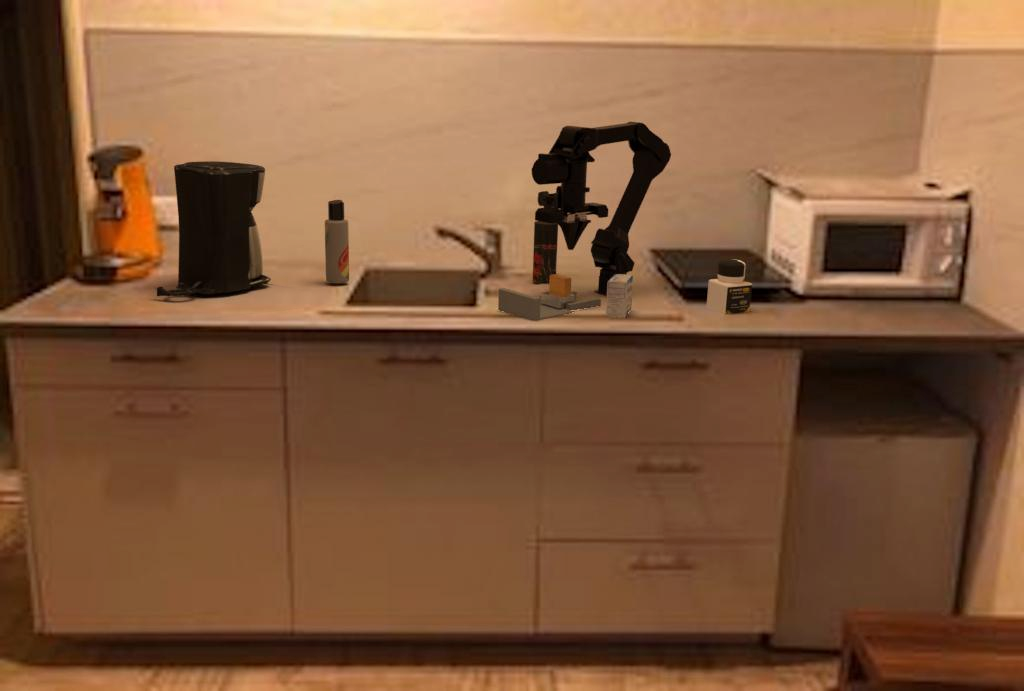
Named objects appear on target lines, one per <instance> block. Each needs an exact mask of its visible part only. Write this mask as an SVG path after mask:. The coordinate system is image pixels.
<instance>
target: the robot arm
mask: <svg viewBox="0 0 1024 691" xmlns="http://www.w3.org/2000/svg"><path fill="white" fill-rule="evenodd" d="M621 142H622V143H623V142H627V143H628V148H629V149H630V151H631V152H632V153H633V156H632V169H633V170H632V171H633V172H632V174H631V177H630V179H629V180H628V183H627V185H626V188H625V190H624V192H623V194H622V196H621V199H620V201H619V203H618V206H617V208H616V210H615V211H614V214H613V216H612V218H611V221H610V223H609V225H608V226H607V227H605V228H598V229H597V230H596V233H595V236H594V238H593V240H592V241H590V244H592V245H591V247H590V253H591V257H592V259H593V264H594V267H595V268H600V269H599V275H598V285H597V286H598V287H597V288H598V289H596V290H594V291H593V293H596V294H598V295H604V296H606V297H607V284H608V281H609V280H610V279H611V278H612V277H613V276H614V274H625V275H628V274H627V273H629V272H633V270H634V267H635V265H636V264H635V261H634V260H633V259H632V258H631V256H630V255H629V253H628V250H629V248H630V239H629V232H630V230H631V228H632V226H633V224H634V221H635V219H636V217H637V214H638V212H639V211H640V208H641V206H642V204H643V201H644V199H645V196H646V195H647V192H648V190H649V189H650V186H651V184H652V182H653V180H655V178H656V177H658V176H659V175H660V174H661V173H663V172H664V170H665V168H666V167H667V165H668V164H669V162H670V161H671V156H672V153H671V148H670V145H669V144H668V143H666V142H664V141H663V139H662V138H661V137H660V136H658V135H657V134H655V133H654V132H653V131H651V130H650V129H649V127H648V126H647V125H646V124H645V123H643V122H637V121H628V122H625V123H624V122H623V123H618V124H612V125H605V126H604V125H603V126H599V127H598V126H597V127H596V126H595V127H585V126H576V125H565V126H563V127H561V130H560V132H559V135H558V137H557V139H556V140H555V141H554V144H553V145H552V147H551V149H550V150H549V152H548V153H544V152H543V153H542V152H541V153H538V154H537V159H536V160H534V163H533V165H532V167H531V176H532V179H533V181H534V182H535V183H536V185H538V186H539V185H556V184H560V185H557V187H556V188H555V190H556V191H555V192H554V193H550V192H549V191H548V190H543V191H540V192H539V191H538V194H537V203H538V206H539V207H538V208H537V209H536V211H534V212H535V213H534V221H541V222H546V223H553V224H554V223H557V224H558V227H560V229H561V232H562V235H563V238H564V241H565V244H566V249H567V250H569V251H573V250H574V249H575V248H576V246H577V244H578V242H579V241H580V238H581V236H582V234H583V233H584V231H585V229H586V228H587V226H588V225H589V224H590V223H592V220H591V219H588V216H590V215H592V216H593V215H595V216H597V218H598V219H599V218H600V219H602V218H604V219H605V218H609V208H608V206H607V205H606V204H603V203H598V202H586V194H587V193H590V191H591V189H590V187H588V186H587V172H588V171H587V170H588V163H594V162H596V159H595V158H594V157H593V156H592V155H591V154H590V152H592V151H594V150H596V149H597V148H599V147H600V146H603V145H608V144H615V143H621Z"/></svg>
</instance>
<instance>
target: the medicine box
mask: <svg viewBox="0 0 1024 691" xmlns="http://www.w3.org/2000/svg"><path fill="white" fill-rule="evenodd" d="M633 282H634V275H631V274H627V275H625V274H614V276H613V277H612V278H611V279H610V280H609V281H608V284H607V296H606V305H605V306H606V308H605V309H606V310H605V311H606V312H605V317H606V318H616V317H618V318H619V319H626V318H627V317H626V315H627V314H628V312H629V311H630V310H631V311H632V302H633V300H632V299H633ZM628 315H629V314H628ZM607 316H608V317H607ZM623 317H624V318H623ZM625 317H626V318H625Z"/></svg>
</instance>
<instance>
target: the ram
mask: <svg viewBox="0 0 1024 691" xmlns="http://www.w3.org/2000/svg"><path fill="white" fill-rule="evenodd" d="M548 285H549V286H548V291H543V292H541V293H540V298H541V303H542V304H545V305H549V306H552V307H556V308H564V309H565V308H566V304H568V303H573V302H576V301H575V295H573V294H571V291H572V277H570V276H566V275H562V274H558V273H556V274H553V275H550V280H549V284H548Z"/></svg>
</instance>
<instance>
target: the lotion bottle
mask: <svg viewBox="0 0 1024 691" xmlns="http://www.w3.org/2000/svg"><path fill="white" fill-rule="evenodd" d="M327 205H328V206H327V208H328V210H327V211H328V212H327V214H328V219H325V220H324V246H325V247H324V248H325V249H324V250H325V251H324V252H325V253H324V254H325V280H326V281H325V282H326V283H330V284H344V283H348V282H349V281H350V246H349V240H350V239H349V238H350V237H349V221H348V219H345V202H343V200H342V199H333V200H329V201H328V202H327Z"/></svg>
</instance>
